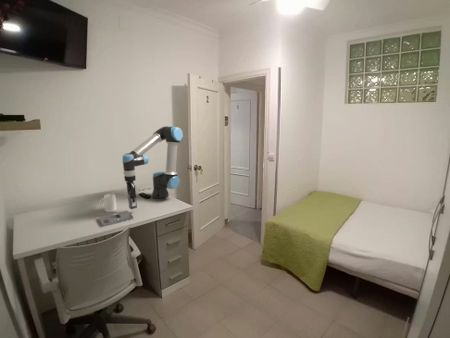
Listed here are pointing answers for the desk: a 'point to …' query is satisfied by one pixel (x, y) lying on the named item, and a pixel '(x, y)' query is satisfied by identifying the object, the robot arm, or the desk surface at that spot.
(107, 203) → the mug
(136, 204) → the plug
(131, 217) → the socket plate
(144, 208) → the desk surface
